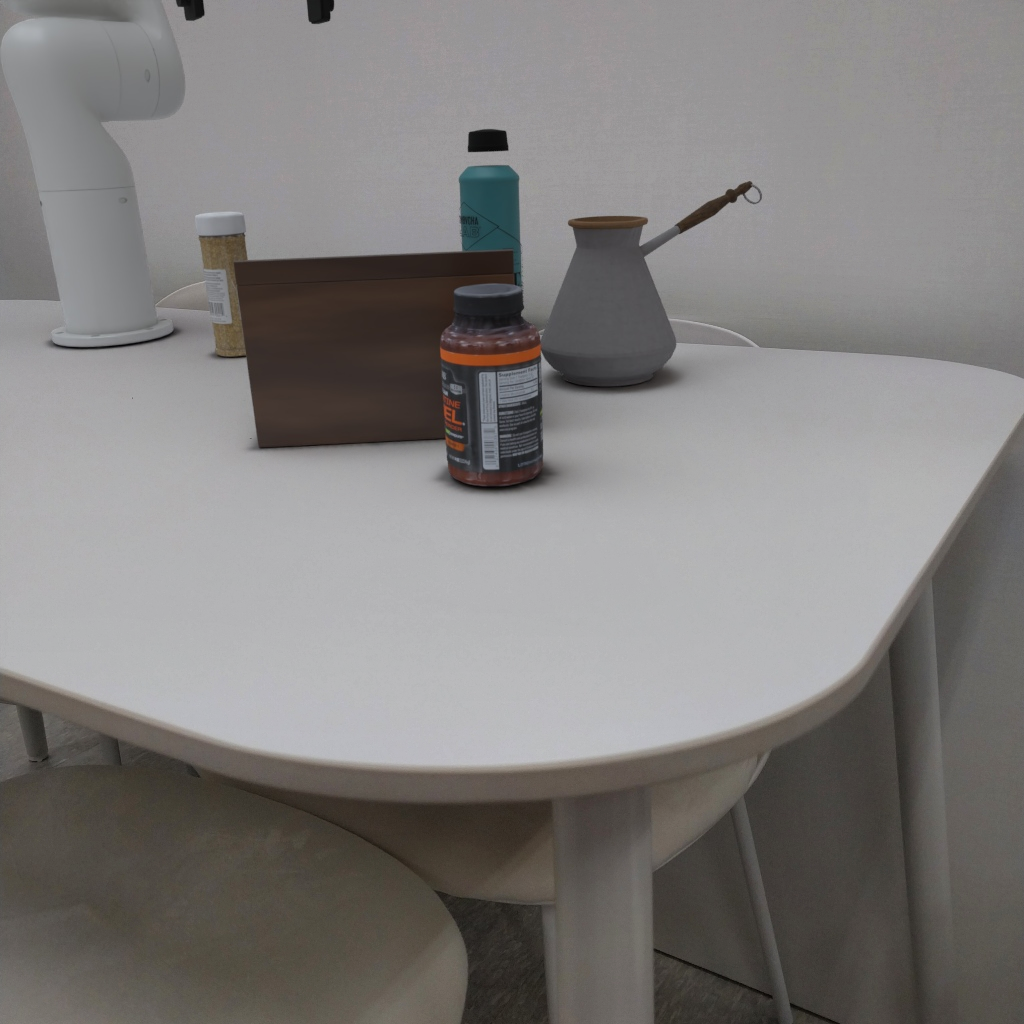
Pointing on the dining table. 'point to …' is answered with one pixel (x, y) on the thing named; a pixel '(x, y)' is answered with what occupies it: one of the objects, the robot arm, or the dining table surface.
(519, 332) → the supplement bottle
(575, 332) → the coffee pot
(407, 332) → the shelf
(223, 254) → the spice jar
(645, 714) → the dining table surface
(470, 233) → the beverage bottle
